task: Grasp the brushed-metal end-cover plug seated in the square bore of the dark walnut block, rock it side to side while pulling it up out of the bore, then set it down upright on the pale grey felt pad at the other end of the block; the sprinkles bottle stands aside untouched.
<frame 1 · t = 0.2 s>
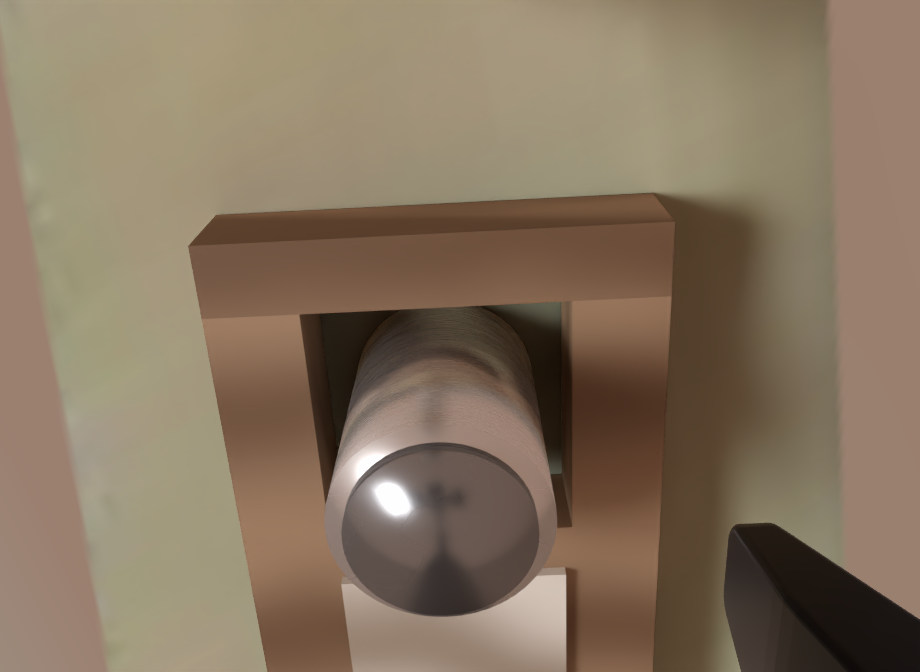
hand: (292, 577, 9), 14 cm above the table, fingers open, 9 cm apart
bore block: (450, 473, 25), on the table
plug: (444, 380, 24), resting in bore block
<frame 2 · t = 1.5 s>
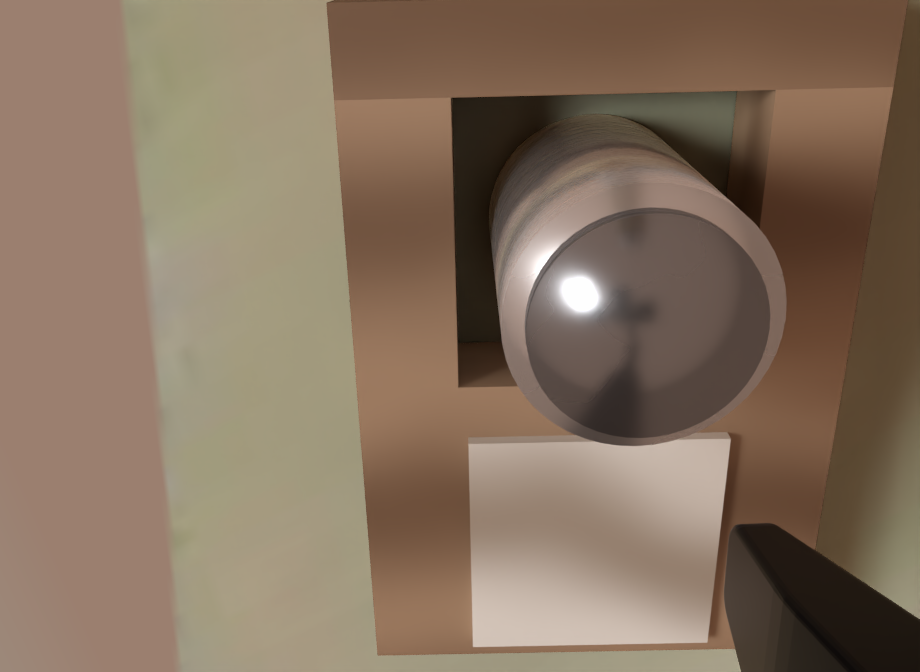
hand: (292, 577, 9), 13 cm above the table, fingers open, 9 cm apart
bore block: (585, 332, 22), on the table
plug: (589, 216, 21), resting in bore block
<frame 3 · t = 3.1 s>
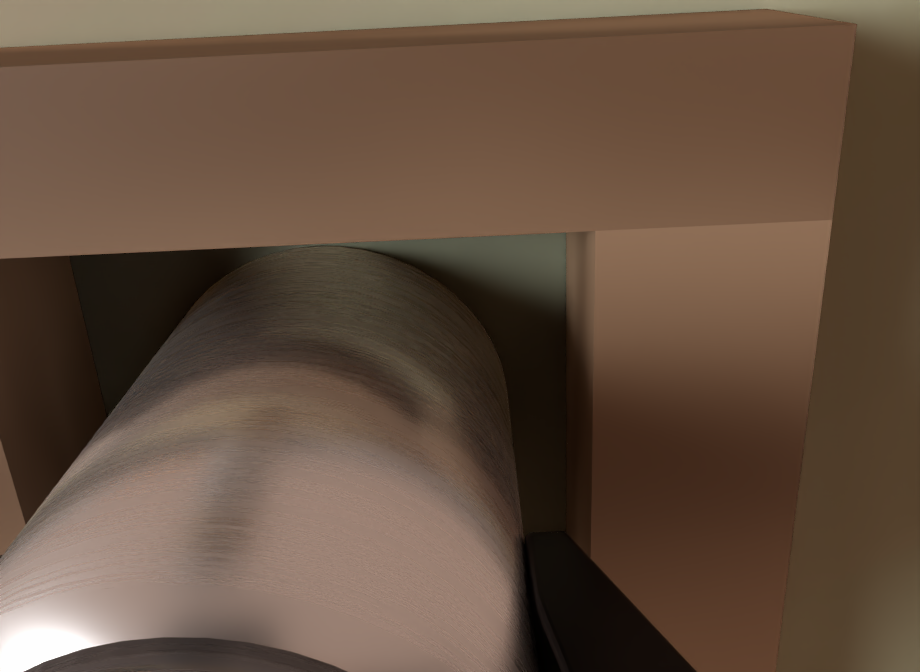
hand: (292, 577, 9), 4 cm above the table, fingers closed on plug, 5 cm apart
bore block: (356, 585, 13), on the table
plug: (336, 410, 12), resting in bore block, touching gripper
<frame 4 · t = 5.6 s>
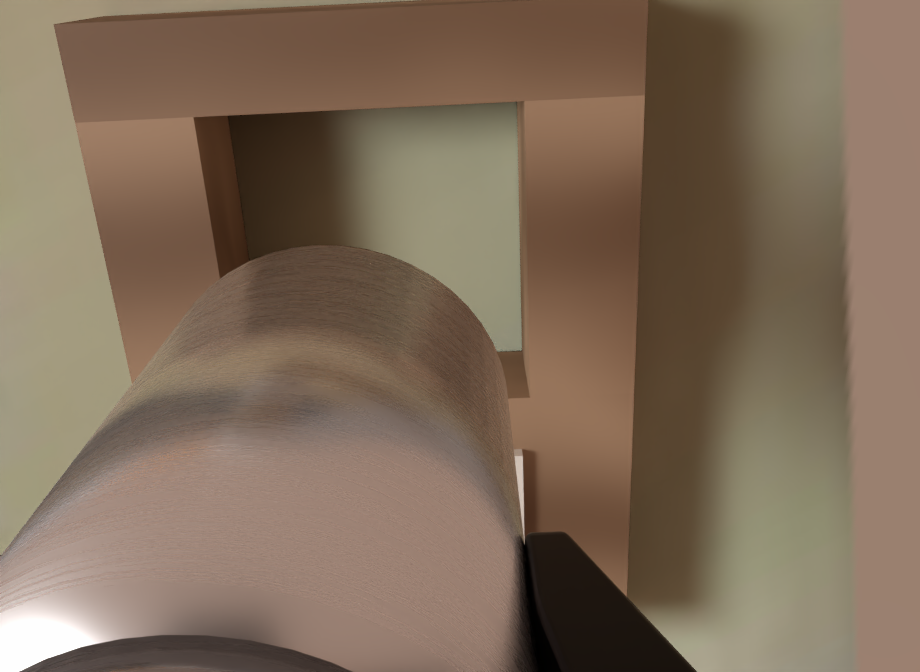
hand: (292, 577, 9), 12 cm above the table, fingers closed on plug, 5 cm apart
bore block: (392, 349, 22), on the table
plug: (336, 410, 12), point 9 cm above the table, touching gripper
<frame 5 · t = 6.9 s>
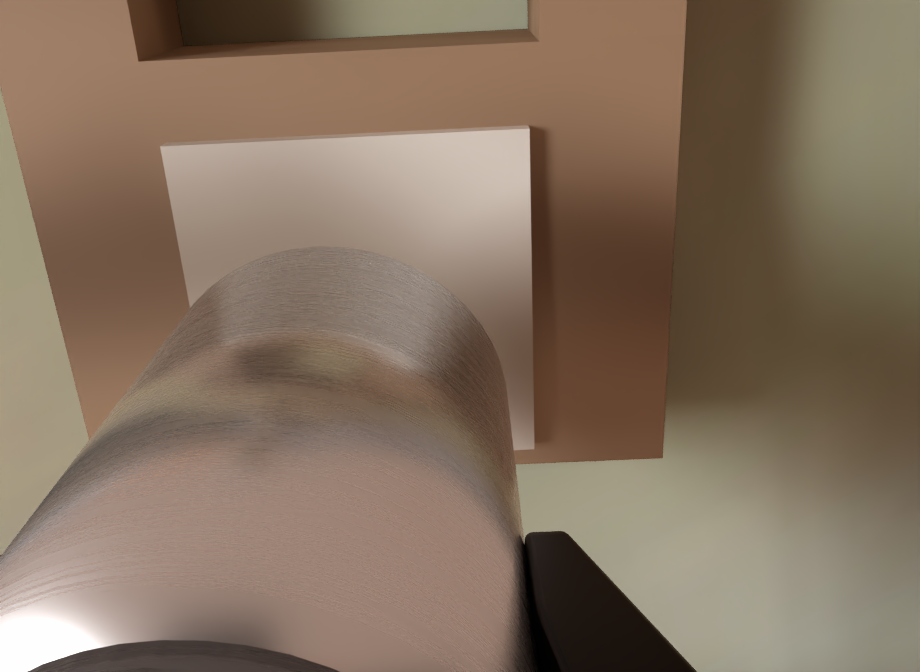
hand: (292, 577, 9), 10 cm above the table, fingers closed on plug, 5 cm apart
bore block: (354, 26, 16), on the table
plug: (335, 411, 12), point 6 cm above the table, touching gripper
when the fingers open (7 cm above the table, at t = 7.7 s): plug stays where it is, resting on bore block.
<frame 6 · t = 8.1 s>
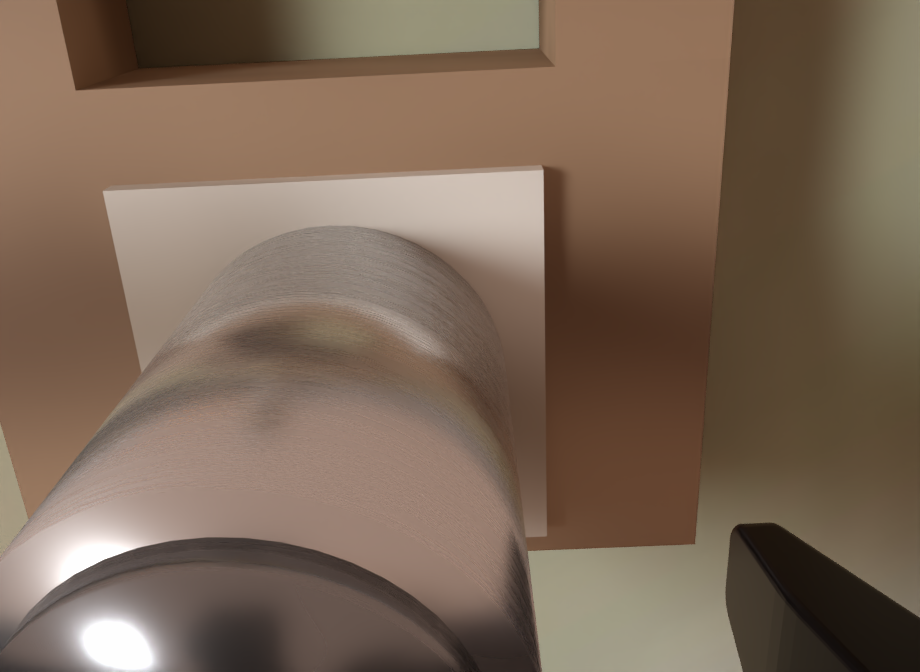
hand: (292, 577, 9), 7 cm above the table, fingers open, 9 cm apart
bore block: (336, 45, 14), on the table
plug: (345, 381, 13), point 3 cm above the table, touching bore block
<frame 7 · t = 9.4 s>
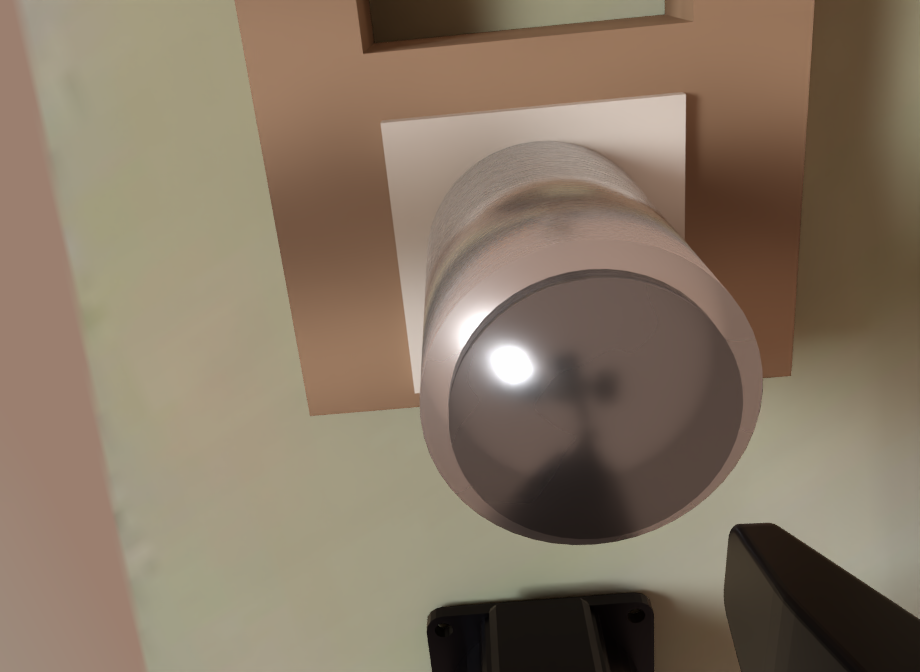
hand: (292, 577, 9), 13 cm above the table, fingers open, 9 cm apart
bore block: (518, 19, 19), on the table
plug: (541, 256, 18), point 3 cm above the table, touching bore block
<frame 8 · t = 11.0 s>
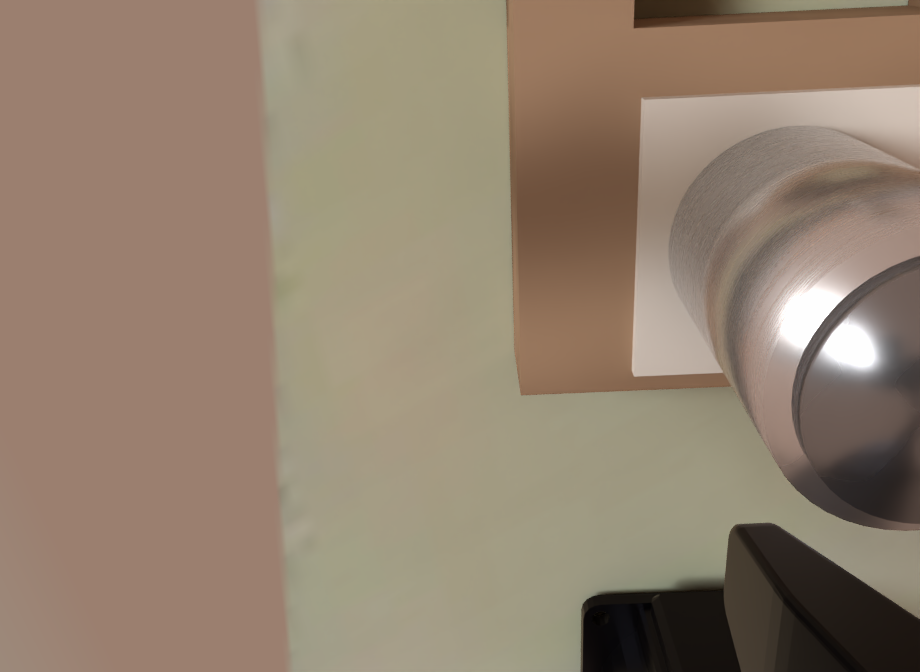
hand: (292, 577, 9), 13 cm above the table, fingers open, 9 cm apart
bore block: (760, 2, 19), on the table
plug: (784, 242, 18), point 3 cm above the table, touching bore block
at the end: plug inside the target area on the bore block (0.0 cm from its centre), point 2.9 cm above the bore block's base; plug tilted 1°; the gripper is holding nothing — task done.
